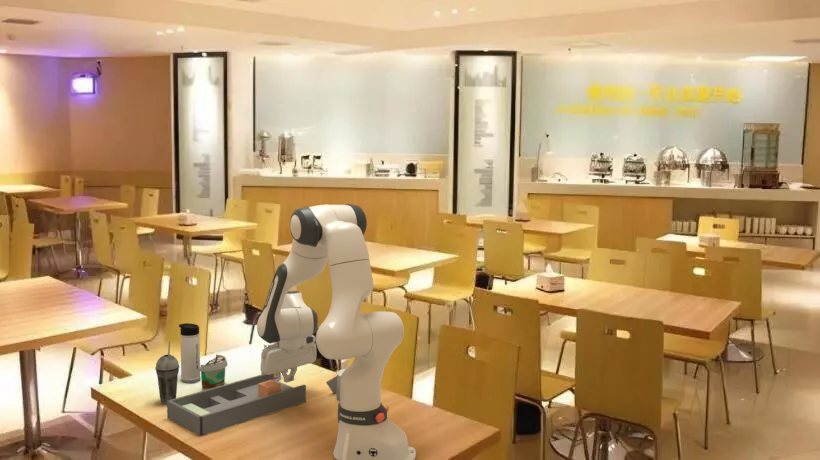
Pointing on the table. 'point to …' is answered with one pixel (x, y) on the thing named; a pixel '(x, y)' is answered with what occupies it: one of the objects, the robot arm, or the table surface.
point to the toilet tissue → (336, 383)
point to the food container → (213, 373)
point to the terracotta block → (268, 388)
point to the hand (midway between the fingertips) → (288, 381)
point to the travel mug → (190, 353)
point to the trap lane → (231, 404)
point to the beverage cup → (167, 376)
